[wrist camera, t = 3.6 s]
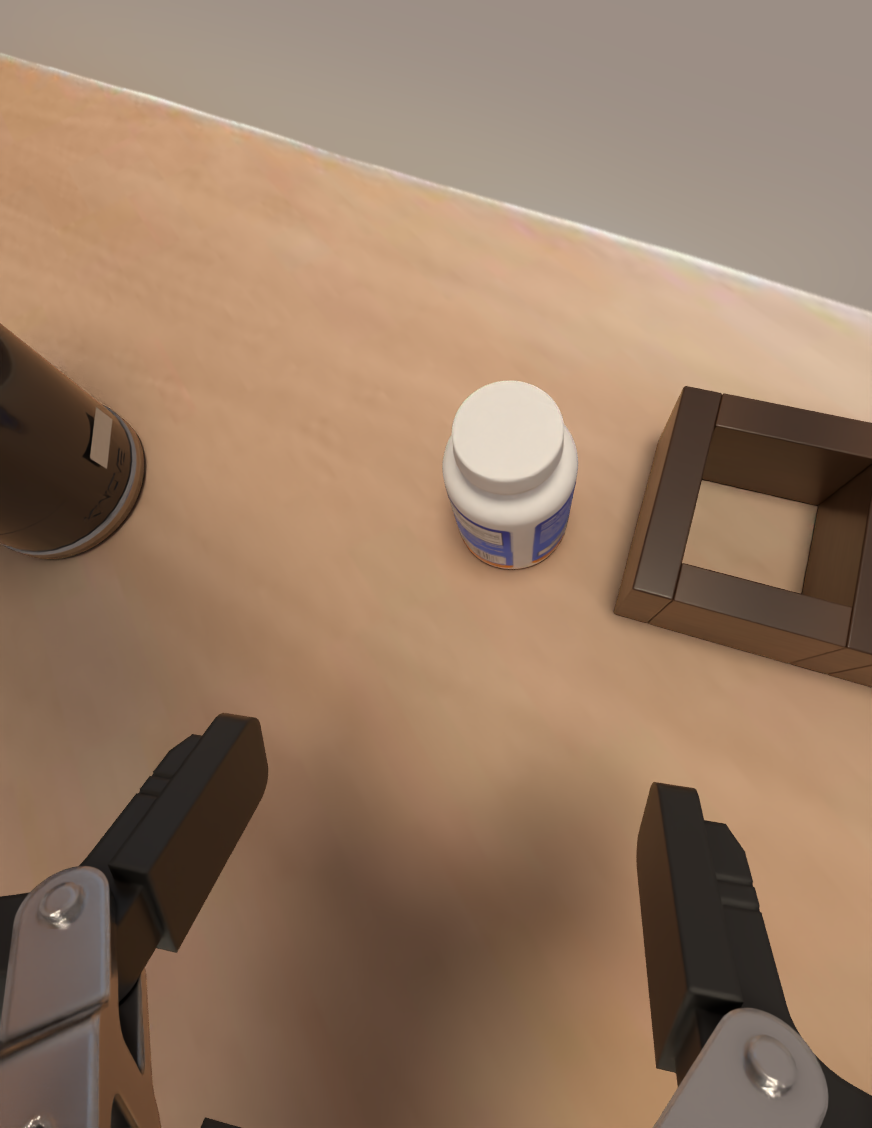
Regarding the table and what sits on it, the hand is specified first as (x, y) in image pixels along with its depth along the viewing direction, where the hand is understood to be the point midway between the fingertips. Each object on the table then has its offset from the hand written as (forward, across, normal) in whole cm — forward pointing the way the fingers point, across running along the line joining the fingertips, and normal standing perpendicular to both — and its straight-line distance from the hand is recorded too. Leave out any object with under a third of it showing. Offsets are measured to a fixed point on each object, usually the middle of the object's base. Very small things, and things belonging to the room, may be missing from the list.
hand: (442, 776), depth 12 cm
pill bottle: (+20, 0, +3) cm, 20 cm away
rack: (+19, -14, +4) cm, 24 cm away
